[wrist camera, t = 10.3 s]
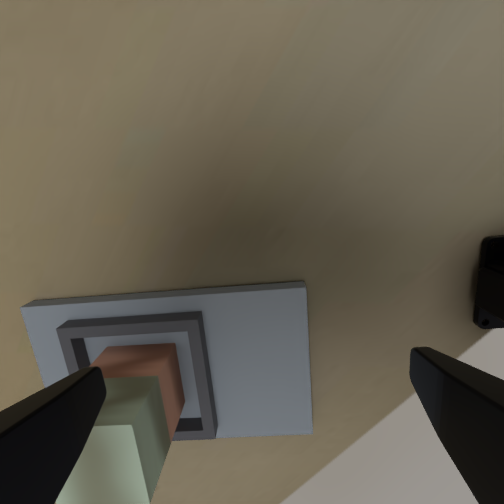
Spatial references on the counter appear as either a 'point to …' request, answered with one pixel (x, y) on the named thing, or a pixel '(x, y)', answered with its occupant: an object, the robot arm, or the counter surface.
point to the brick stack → (129, 427)
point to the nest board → (196, 350)
